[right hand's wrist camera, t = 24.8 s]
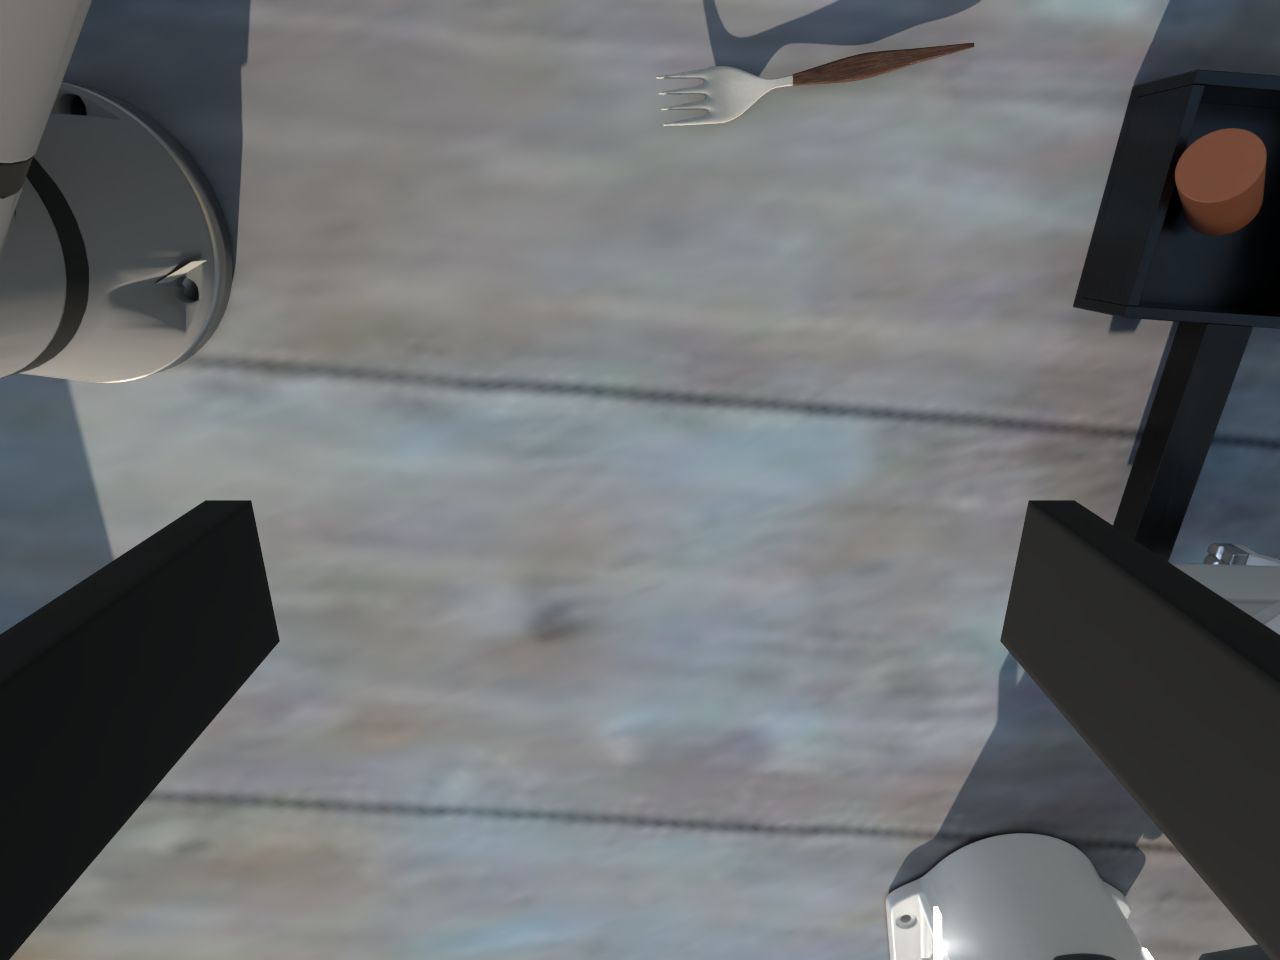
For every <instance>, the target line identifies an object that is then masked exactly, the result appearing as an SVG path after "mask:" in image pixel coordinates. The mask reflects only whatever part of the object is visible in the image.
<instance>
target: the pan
mask: <svg viewBox="0 0 1280 960" xmlns="http://www.w3.org/2000/svg"><path fill="white" fill-rule="evenodd" d="M1227 128H1239V129H1244V130H1248V131H1250V132H1252V133H1254V134H1256V135H1257V136H1258V137H1259V138H1260V139H1261V140H1262V142H1263V143H1264V145H1265V148H1266V153H1267V159H1266V171H1265V182H1264V194H1263V202H1262V206H1261V208H1260V210H1259V212H1258V213H1257V215H1256V216H1255V217H1254V219H1253V220H1252V221H1251V222H1249V223H1248V224H1247V225H1246V226H1244V227H1243V228H1241V229H1239V230H1237V231H1235V232H1232V233H1230V234H1226V235H1221V236H1208V235H1203V234H1200V233H1198V232H1196V231H1194V230H1193V229H1192V228H1191V227H1190V226H1189V225H1188V224H1187V222H1186V219H1185V216H1184V212H1183V209H1182V205H1181V201H1180V197H1179V193H1178V189H1177V186H1176V181H1175V170H1176V166H1177V163H1178V161H1179V159H1180V157H1181V156H1182V154H1183V153H1184V152H1185V150H1186V149H1187V148H1188V147H1189V146H1190V145H1191V144H1192V143H1194V142H1195V141H1196V140H1198V139H1199V138H1201V137H1203V136H1204V135H1206V134H1209V133H1211V132H1214V131H1217V130H1221V129H1227ZM1073 307H1076V308H1081V309H1085V310H1090V311H1095V312H1100V313H1104V314H1109V315H1114V316H1119V317H1123V318H1136V319H1150V320H1164V321H1179V325H1178V328H1177V331H1176V334H1175V337H1174V340H1173V343H1172V346H1171V349H1170V352H1169V355H1168V359H1167V362H1166V365H1165V368H1164V371H1163V374H1162V377H1161V380H1160V383H1159V386H1158V389H1157V392H1156V395H1155V398H1154V402H1153V405H1152V408H1151V411H1150V414H1149V417H1148V420H1147V423H1146V426H1145V429H1144V432H1143V435H1142V438H1141V441H1140V445H1139V448H1138V451H1137V454H1136V457H1135V460H1134V463H1133V466H1132V469H1131V472H1130V475H1129V478H1128V481H1127V484H1126V487H1125V491H1124V494H1123V497H1122V500H1121V503H1120V506H1119V509H1118V512H1117V515H1116V518H1115V521H1114V524H1113V526H1114V527H1116V528H1117V529H1119V530H1120V531H1122V532H1123V533H1125V534H1126V535H1128V536H1129V537H1131V538H1132V539H1134V540H1135V541H1137V542H1139V543H1140V544H1142V545H1143V546H1145V547H1146V548H1148V549H1149V550H1151V551H1152V552H1154V553H1155V554H1157V555H1158V556H1160V557H1161V558H1163V559H1165V560H1166V561H1168V560H1169V558H1170V555H1171V552H1172V549H1173V547H1174V544H1175V541H1176V538H1177V535H1178V533H1179V530H1180V527H1181V524H1182V522H1183V519H1184V516H1185V513H1186V511H1187V508H1188V505H1189V502H1190V500H1191V497H1192V494H1193V491H1194V488H1195V486H1196V483H1197V480H1198V477H1199V475H1200V472H1201V469H1202V466H1203V464H1204V461H1205V458H1206V455H1207V453H1208V450H1209V447H1210V444H1211V442H1212V439H1213V436H1214V433H1215V430H1216V428H1217V425H1218V422H1219V419H1220V417H1221V414H1222V411H1223V408H1224V406H1225V403H1226V400H1227V397H1228V395H1229V392H1230V389H1231V386H1232V383H1233V381H1234V378H1235V375H1236V372H1237V370H1238V367H1239V364H1240V361H1241V359H1242V356H1243V353H1244V350H1245V348H1246V345H1247V342H1248V339H1249V336H1250V334H1251V331H1252V328H1253V327H1264V328H1278V329H1280V76H1273V75H1260V74H1248V73H1235V72H1222V71H1210V70H1195V71H1191V72H1187V73H1183V74H1179V75H1175V76H1172V77H1168V78H1164V79H1160V80H1156V81H1152V82H1149V83H1145V84H1141V85H1137V86H1133V88H1132V92H1131V96H1130V99H1129V103H1128V107H1127V110H1126V114H1125V118H1124V121H1123V125H1122V129H1121V132H1120V136H1119V140H1118V143H1117V147H1116V151H1115V154H1114V158H1113V162H1112V165H1111V169H1110V173H1109V176H1108V180H1107V184H1106V187H1105V191H1104V195H1103V198H1102V202H1101V206H1100V209H1099V213H1098V217H1097V220H1096V224H1095V228H1094V231H1093V235H1092V239H1091V242H1090V246H1089V250H1088V253H1087V257H1086V261H1085V264H1084V268H1083V272H1082V275H1081V279H1080V283H1079V286H1078V290H1077V294H1076V297H1075V301H1074V305H1073Z"/></svg>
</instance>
